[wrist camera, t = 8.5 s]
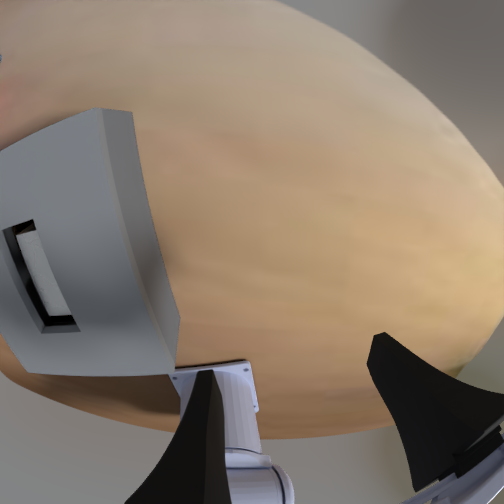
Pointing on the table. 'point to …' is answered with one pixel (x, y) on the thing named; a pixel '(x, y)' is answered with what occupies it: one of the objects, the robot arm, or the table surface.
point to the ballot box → (85, 252)
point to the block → (41, 272)
